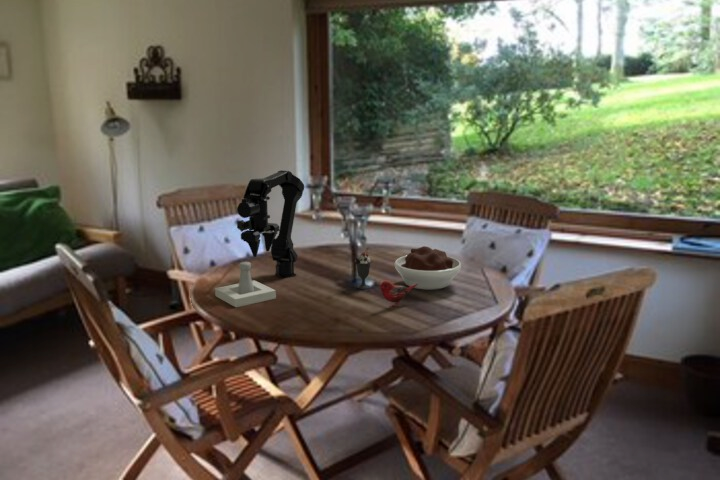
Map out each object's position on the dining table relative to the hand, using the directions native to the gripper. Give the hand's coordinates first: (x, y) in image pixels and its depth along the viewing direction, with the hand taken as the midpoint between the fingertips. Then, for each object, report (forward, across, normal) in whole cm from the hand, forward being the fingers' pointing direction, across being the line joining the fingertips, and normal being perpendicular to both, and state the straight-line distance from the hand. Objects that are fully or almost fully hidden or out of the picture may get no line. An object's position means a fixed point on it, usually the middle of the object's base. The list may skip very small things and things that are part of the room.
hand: (261, 253), depth 244 cm
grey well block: (+13, +13, 0) cm, 18 cm away
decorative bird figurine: (+13, +1, +55) cm, 57 cm away
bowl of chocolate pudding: (+13, -24, +58) cm, 64 cm away
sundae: (+13, -14, +36) cm, 41 cm away
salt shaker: (+13, +13, +1) cm, 18 cm away
